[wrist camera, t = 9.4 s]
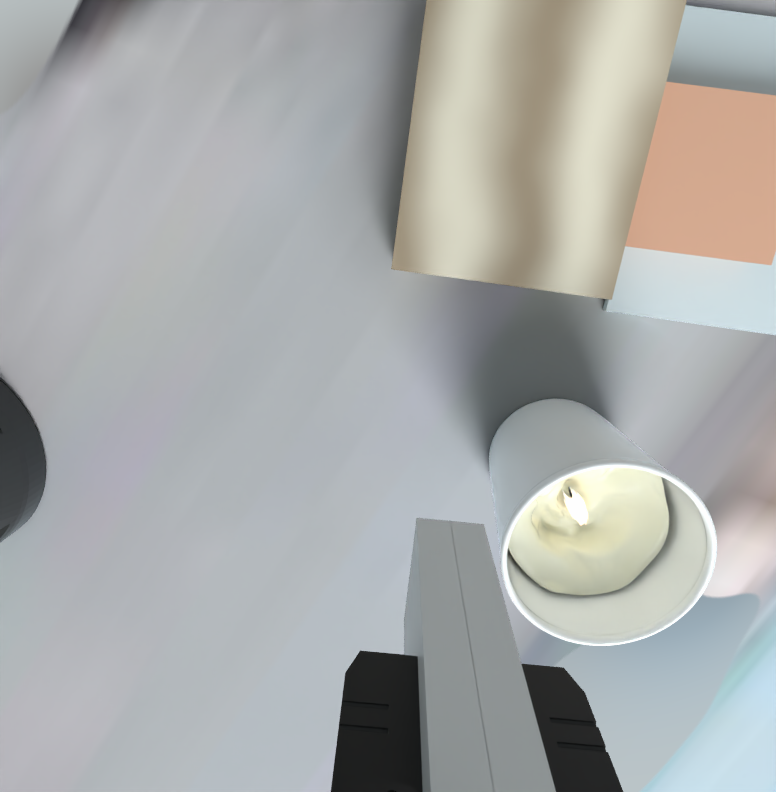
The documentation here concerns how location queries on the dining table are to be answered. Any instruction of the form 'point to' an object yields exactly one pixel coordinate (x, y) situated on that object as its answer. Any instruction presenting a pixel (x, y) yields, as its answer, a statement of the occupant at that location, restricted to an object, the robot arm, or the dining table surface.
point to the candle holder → (594, 527)
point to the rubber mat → (695, 275)
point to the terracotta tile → (710, 176)
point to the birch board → (532, 139)
